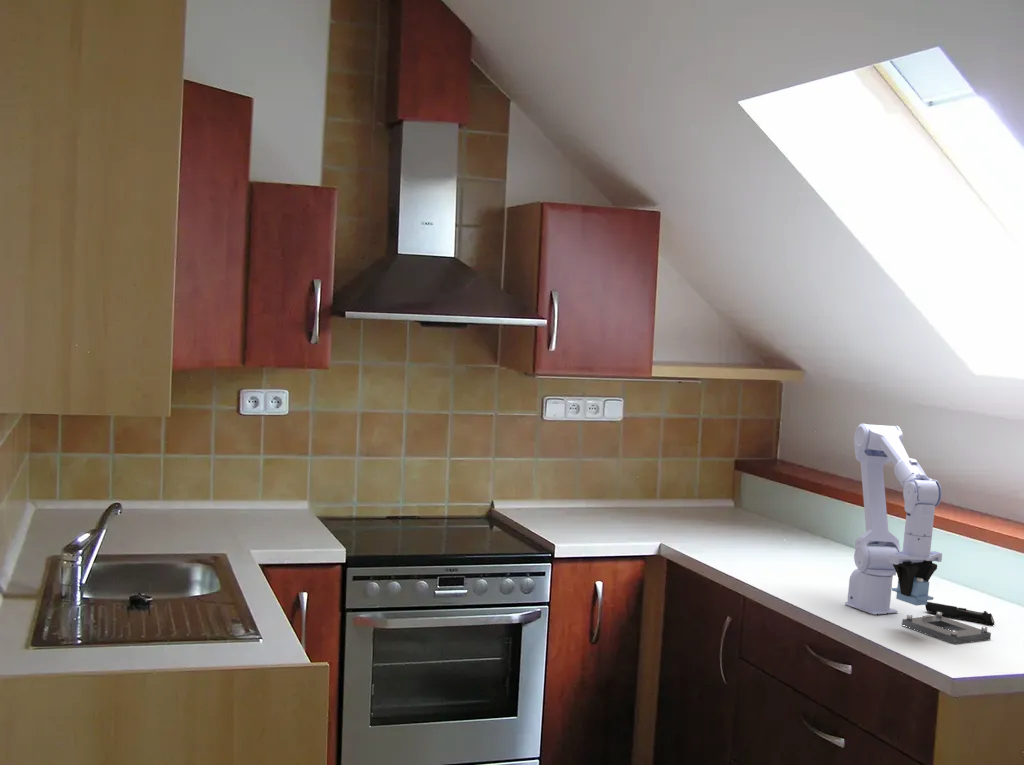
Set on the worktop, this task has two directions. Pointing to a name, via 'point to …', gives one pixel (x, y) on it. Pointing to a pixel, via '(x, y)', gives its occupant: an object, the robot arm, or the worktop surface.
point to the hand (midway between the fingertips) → (911, 594)
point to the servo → (915, 593)
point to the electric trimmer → (960, 613)
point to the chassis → (957, 633)
